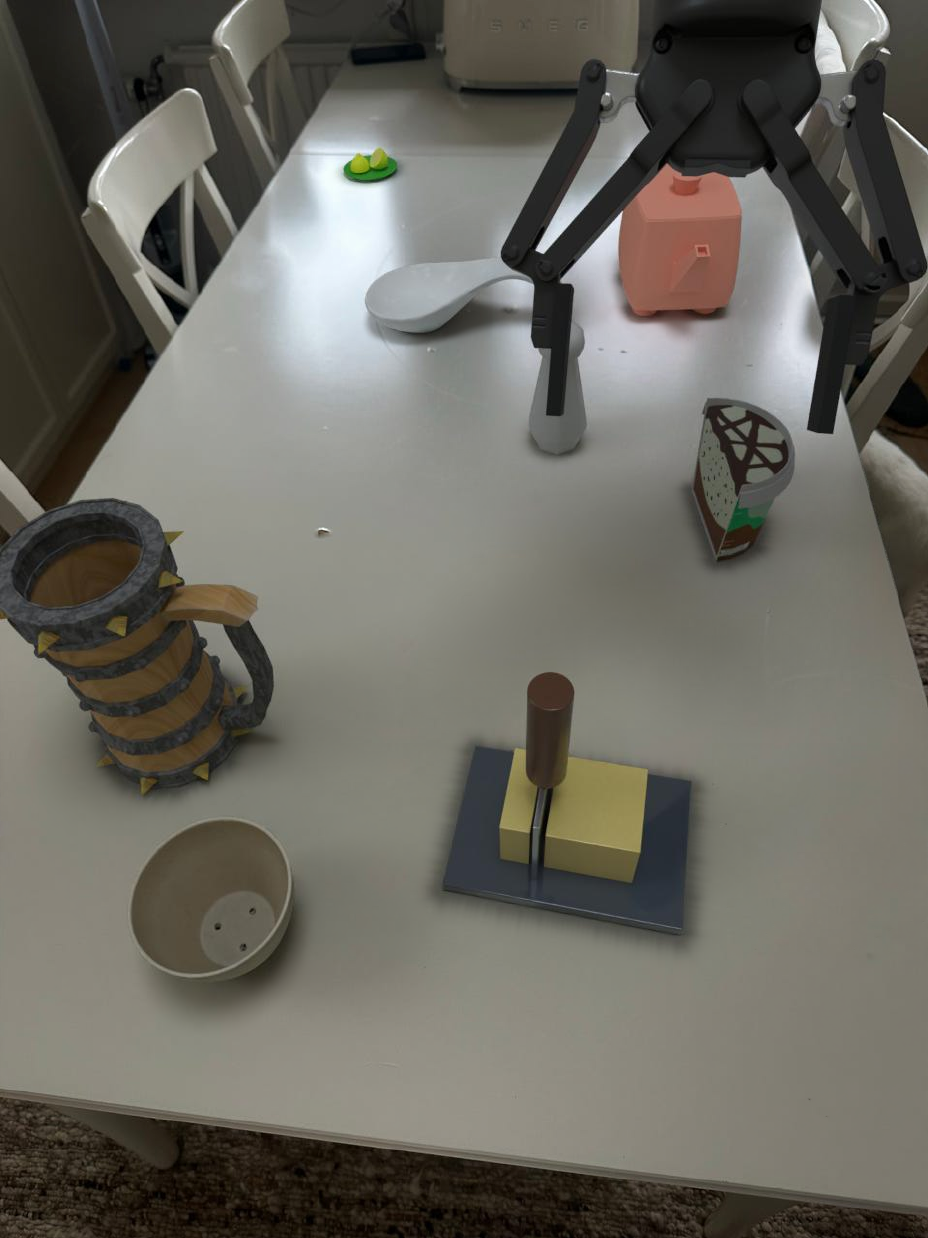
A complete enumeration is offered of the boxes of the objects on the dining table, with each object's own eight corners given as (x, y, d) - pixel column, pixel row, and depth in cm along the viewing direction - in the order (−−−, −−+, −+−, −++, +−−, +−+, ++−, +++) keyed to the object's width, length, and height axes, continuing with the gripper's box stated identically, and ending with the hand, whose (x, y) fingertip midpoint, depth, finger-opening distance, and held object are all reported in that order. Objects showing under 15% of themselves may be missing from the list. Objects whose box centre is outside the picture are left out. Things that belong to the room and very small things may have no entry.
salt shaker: (589, 426, 89) (598, 313, 79) (581, 462, 86) (590, 349, 76) (533, 420, 90) (535, 307, 80) (523, 456, 87) (524, 343, 77)
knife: (568, 778, 63) (583, 637, 50) (552, 883, 58) (564, 757, 45) (533, 772, 63) (538, 631, 50) (514, 876, 59) (514, 749, 45)
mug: (132, 655, 73) (29, 478, 58) (328, 676, 71) (276, 498, 55) (65, 792, 65) (-75, 629, 50) (283, 821, 63) (208, 660, 47)
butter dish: (689, 787, 63) (703, 745, 58) (680, 935, 57) (695, 902, 52) (475, 751, 66) (472, 709, 61) (443, 890, 59) (437, 854, 55)
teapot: (741, 345, 97) (770, 221, 86) (627, 350, 97) (642, 227, 86) (707, 245, 110) (728, 127, 99) (607, 249, 111) (618, 132, 100)
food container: (789, 568, 76) (821, 483, 68) (720, 574, 76) (744, 489, 68) (750, 474, 84) (775, 388, 76) (687, 479, 84) (705, 393, 76)
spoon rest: (360, 347, 100) (351, 289, 94) (377, 291, 107) (369, 235, 102) (566, 350, 98) (569, 292, 92) (568, 294, 105) (571, 236, 99)
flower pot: (173, 868, 61) (138, 824, 55) (314, 853, 61) (294, 808, 56) (154, 1018, 55) (113, 985, 49) (311, 1001, 55) (288, 967, 49)
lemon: (386, 154, 131) (384, 134, 129) (405, 175, 126) (403, 155, 124) (336, 166, 129) (333, 146, 127) (354, 188, 125) (351, 168, 123)
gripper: (1003, -21, 41) (913, 434, 47) (485, -14, 45) (463, 405, 51) (1083, -104, 34) (965, 445, 40) (459, -87, 38) (437, 410, 44)
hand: (684, 424), depth 45 cm, fingers open, 13 cm apart
